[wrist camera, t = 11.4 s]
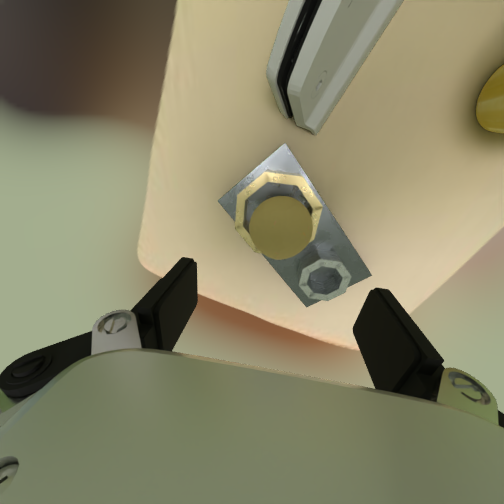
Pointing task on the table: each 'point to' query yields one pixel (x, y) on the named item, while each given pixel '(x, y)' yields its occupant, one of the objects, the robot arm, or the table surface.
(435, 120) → the table surface
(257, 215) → the light bulb
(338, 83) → the white rounded block
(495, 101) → the plant pot
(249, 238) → the fitting plate
